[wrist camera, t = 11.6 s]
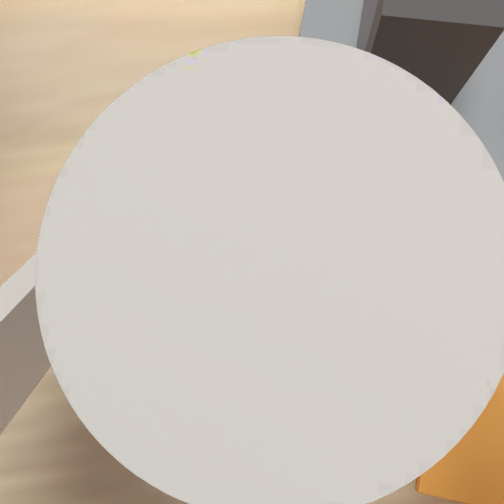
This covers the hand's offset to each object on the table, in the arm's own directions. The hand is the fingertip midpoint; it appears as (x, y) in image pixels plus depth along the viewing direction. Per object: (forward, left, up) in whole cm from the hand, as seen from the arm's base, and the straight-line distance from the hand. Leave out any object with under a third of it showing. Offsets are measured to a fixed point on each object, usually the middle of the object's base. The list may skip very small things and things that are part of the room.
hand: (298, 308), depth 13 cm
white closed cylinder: (-1, +1, -7) cm, 7 cm away
